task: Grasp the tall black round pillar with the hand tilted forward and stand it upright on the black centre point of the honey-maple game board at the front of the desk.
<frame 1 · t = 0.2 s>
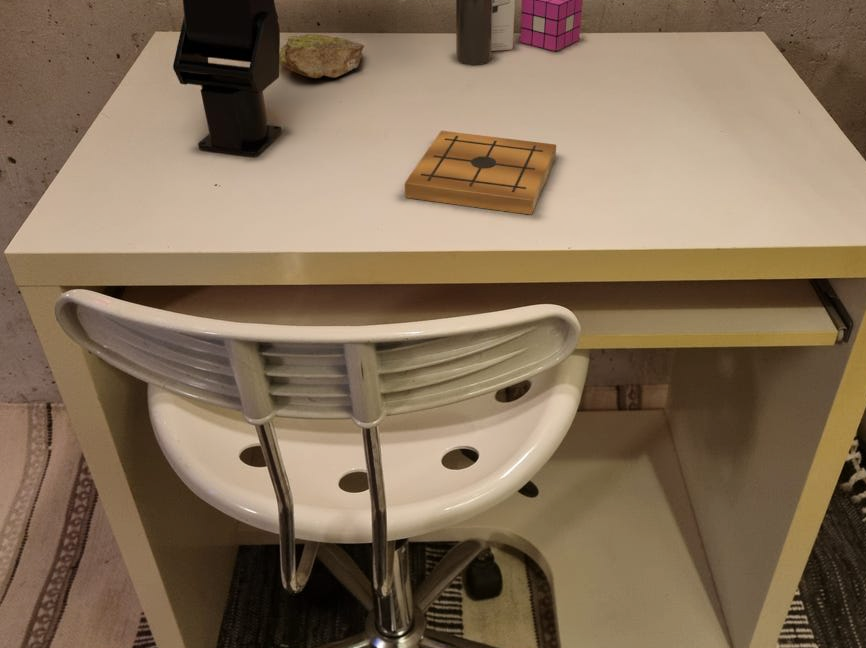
puzzle toy: (549, 43, 111), on the table
ink box: (487, 42, 111), on the table
game board: (483, 177, 82), on the table
rock: (323, 68, 103), on the table
black round pillar: (473, 58, 106), on the table
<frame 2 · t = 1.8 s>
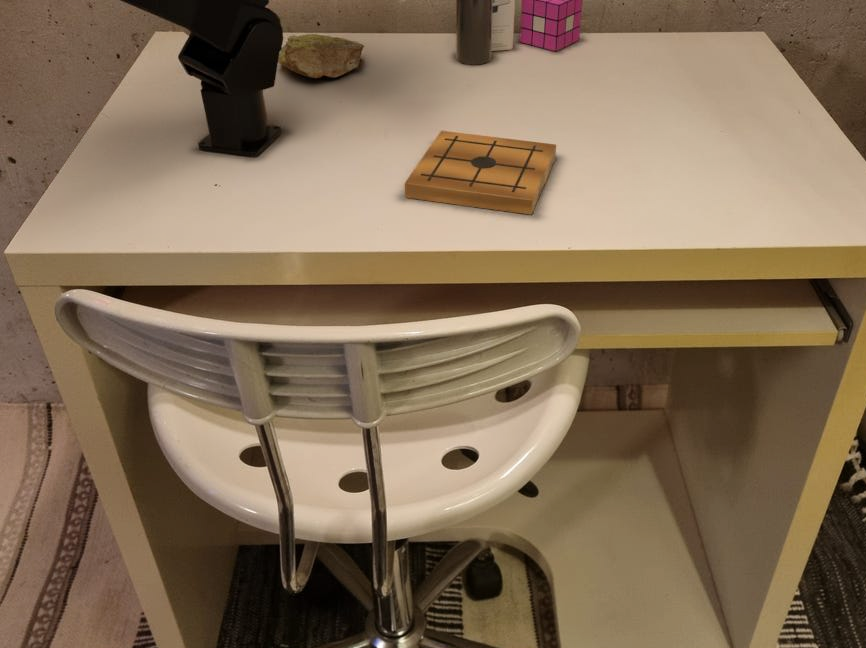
nothing on the table moved.
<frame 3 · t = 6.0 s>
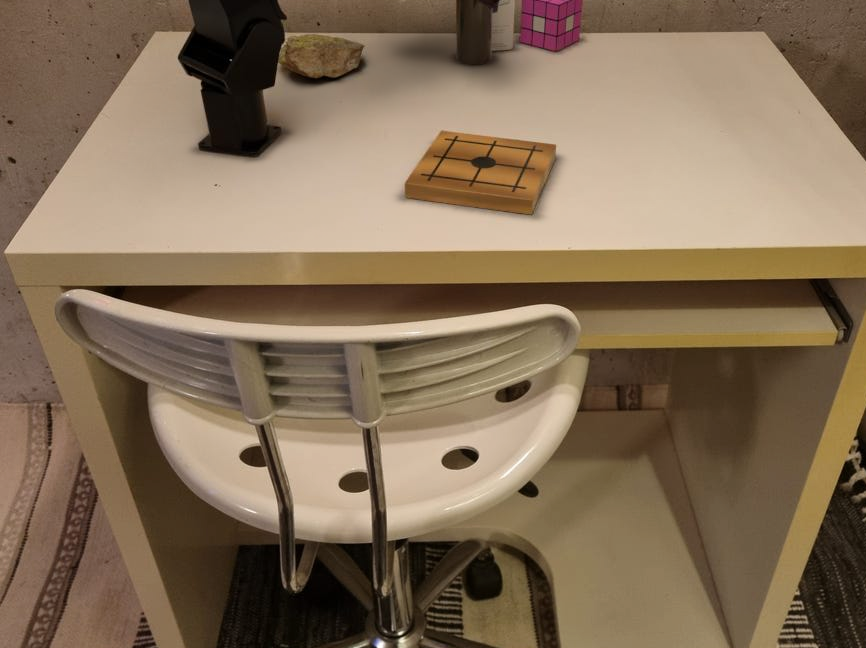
hand: (482, 0, 102), 7 cm above the table, tool tilted 45°, fingers closed on black round pillar, 4 cm apart
black round pillar: (473, 58, 106), on the table, touching gripper
everything else where it was.
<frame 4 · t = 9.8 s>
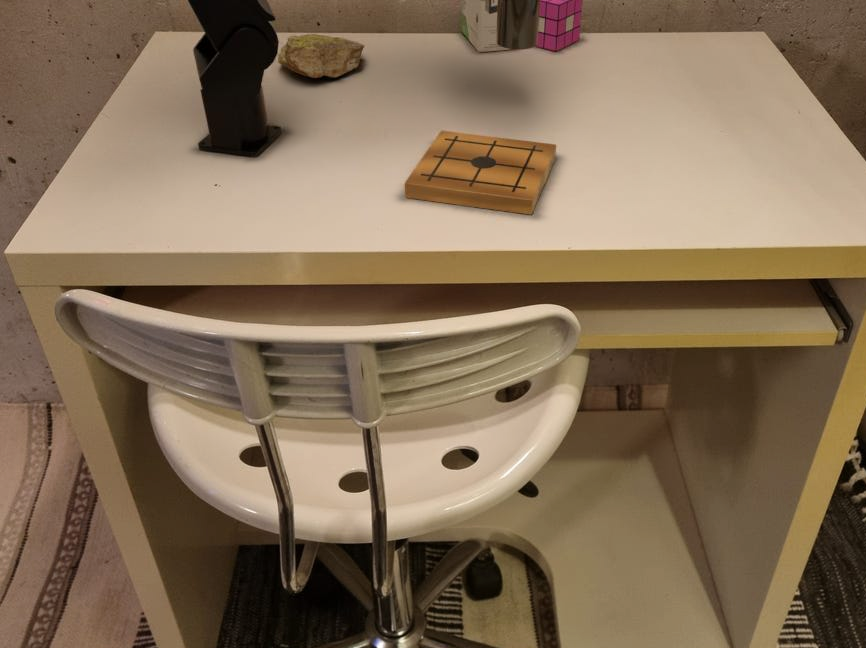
black round pillar: (516, 42, 90), point 7 cm above the table, touching gripper
everything else where it was.
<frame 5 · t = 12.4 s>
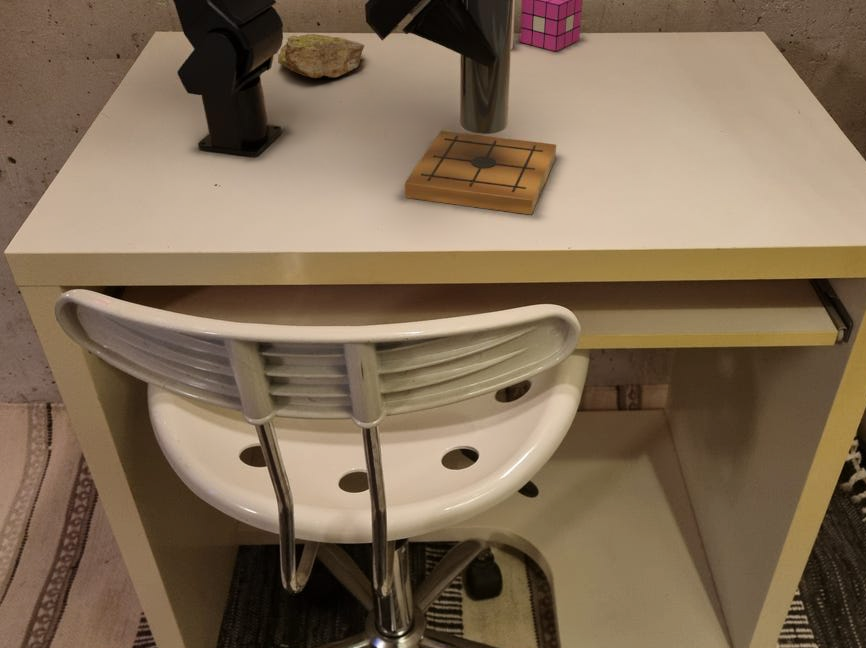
hand: (500, 53, 74), 12 cm above the table, tool tilted 45°, fingers closed on black round pillar, 4 cm apart
black round pillar: (483, 124, 78), point 5 cm above the table, touching gripper
everything else where it was.
when the fingers open (8 cm above the table, at t = 13.9 s): black round pillar stays where it is, resting on game board.
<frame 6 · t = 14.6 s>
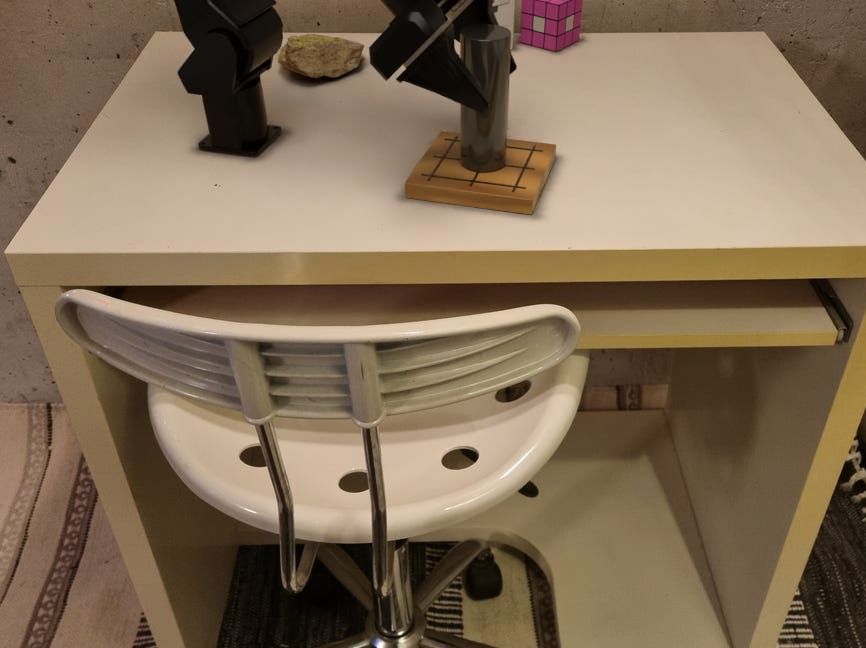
hand: (500, 89, 76), 9 cm above the table, tool tilted 45°, fingers open, 9 cm apart
black round pillar: (483, 161, 81), point 2 cm above the table, touching game board
everything else where it was.
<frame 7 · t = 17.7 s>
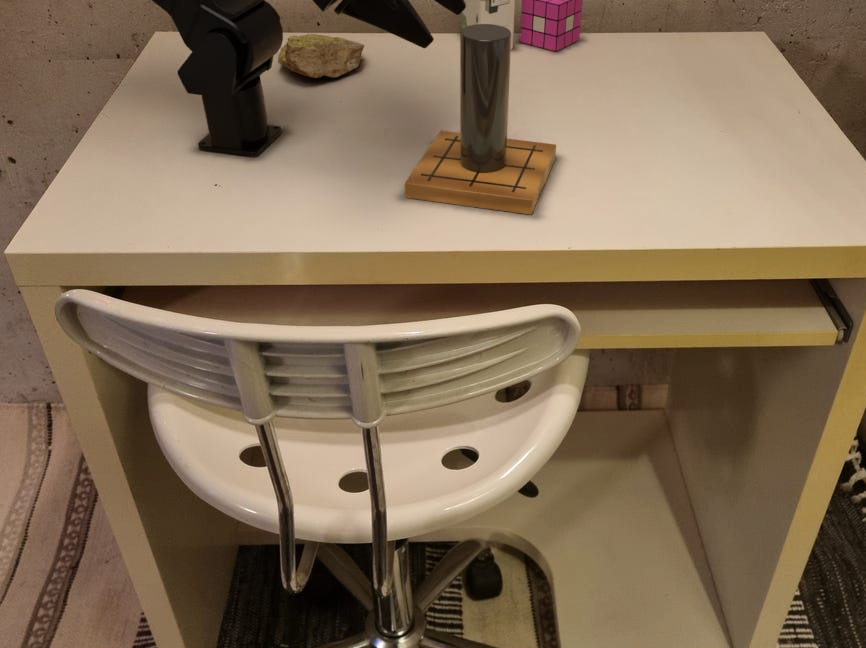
hand: (446, 27, 73), 14 cm above the table, tool tilted 45°, fingers open, 9 cm apart
nothing on the table moved.
at the end: black round pillar 0.0 cm off-centre on the game board, point 1.6 cm above the game board's base; black round pillar tilted 0°; the gripper is holding nothing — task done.
